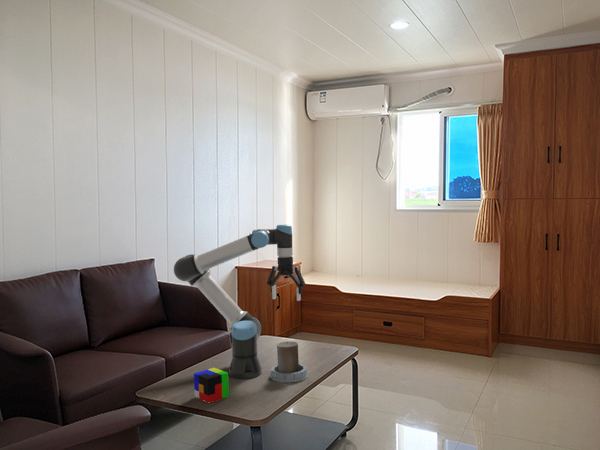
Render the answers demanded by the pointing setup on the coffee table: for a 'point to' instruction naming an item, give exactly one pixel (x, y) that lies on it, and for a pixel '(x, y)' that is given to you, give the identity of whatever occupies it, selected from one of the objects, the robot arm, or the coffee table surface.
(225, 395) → the puzzle toy
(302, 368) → the candle dish
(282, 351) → the pillar candle
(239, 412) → the coffee table surface
